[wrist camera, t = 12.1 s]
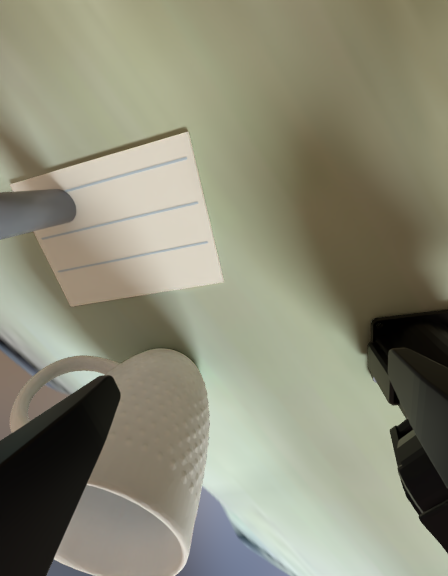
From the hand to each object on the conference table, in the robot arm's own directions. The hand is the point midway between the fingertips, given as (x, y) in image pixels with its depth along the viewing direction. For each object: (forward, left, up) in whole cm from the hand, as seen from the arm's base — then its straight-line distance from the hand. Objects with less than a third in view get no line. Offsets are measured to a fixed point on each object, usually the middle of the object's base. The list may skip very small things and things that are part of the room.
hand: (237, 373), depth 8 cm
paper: (+10, -4, -13) cm, 17 cm away
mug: (+11, +10, -13) cm, 20 cm away
